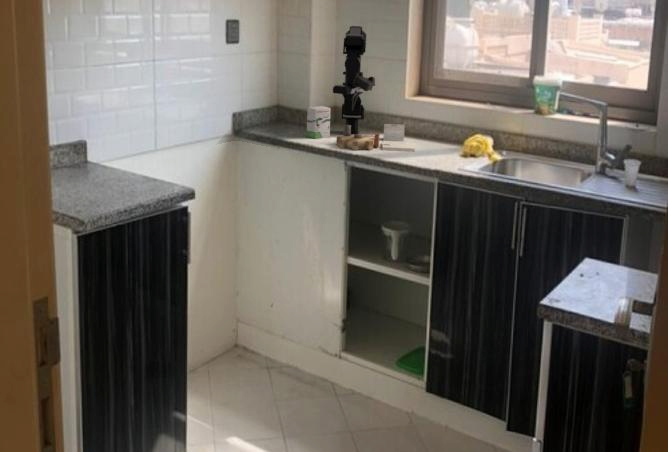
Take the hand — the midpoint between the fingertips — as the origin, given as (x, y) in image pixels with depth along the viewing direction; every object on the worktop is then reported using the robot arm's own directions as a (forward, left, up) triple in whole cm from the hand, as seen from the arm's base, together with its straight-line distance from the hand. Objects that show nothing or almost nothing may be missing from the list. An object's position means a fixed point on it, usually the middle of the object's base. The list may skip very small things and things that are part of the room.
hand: (351, 110), depth 323 cm
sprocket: (+5, +3, -13) cm, 14 cm away
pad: (+4, +19, -13) cm, 23 cm away
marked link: (-11, +17, -13) cm, 24 cm away
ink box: (-10, -13, -13) cm, 21 cm away
